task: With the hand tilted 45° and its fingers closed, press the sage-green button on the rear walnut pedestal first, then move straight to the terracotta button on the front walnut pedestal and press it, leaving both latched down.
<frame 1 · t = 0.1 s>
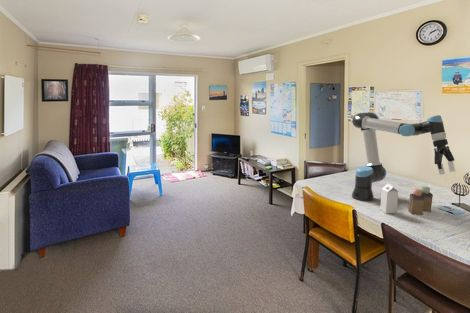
hand: (447, 172, 181), 28 cm above the table, tool tilted 20°, fingers open, 13 cm apart
front pedestal: (415, 212, 190), on the table
rear pedestal: (423, 209, 195), on the table
sage button: (425, 190, 192), point 14 cm above the table, slide at 0.0 cm
milk carton: (388, 211, 193), on the table
terracotta button: (417, 193, 188), point 14 cm above the table, slide at 0.0 cm
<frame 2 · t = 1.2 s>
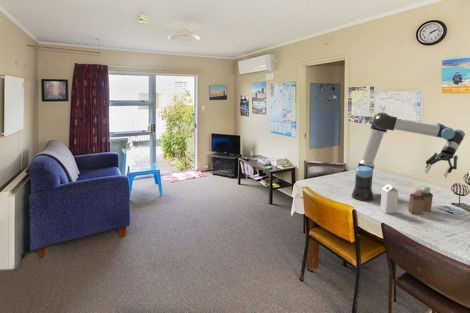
hand: (435, 174, 195), 23 cm above the table, tool tilted 45°, fingers open, 11 cm apart
nothing on the table moved.
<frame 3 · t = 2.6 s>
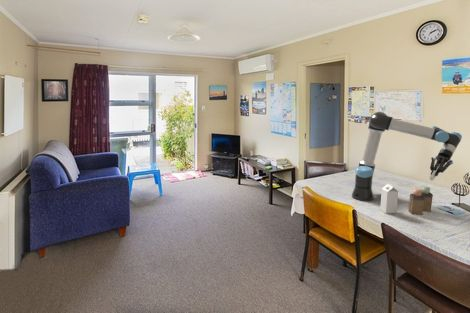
hand: (431, 179, 193), 21 cm above the table, tool tilted 45°, fingers closed
nothing on the table moved.
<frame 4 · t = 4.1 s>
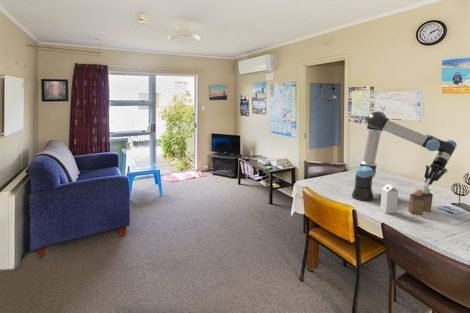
hand: (425, 187, 191), 16 cm above the table, tool tilted 45°, fingers closed
sage button: (425, 192, 193), point 13 cm above the table, slide at 1.0 cm, touching gripper
everything else where it was.
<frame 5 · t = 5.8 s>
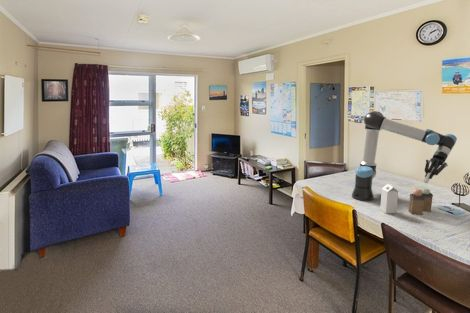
hand: (425, 181, 190), 20 cm above the table, tool tilted 45°, fingers closed
sage button: (425, 192, 193), point 12 cm above the table, slide at 1.5 cm
everything else where it was.
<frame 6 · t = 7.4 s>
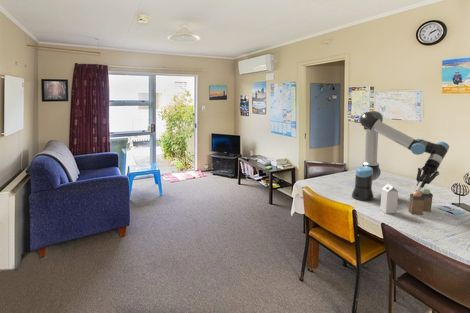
hand: (417, 190, 186), 15 cm above the table, tool tilted 45°, fingers closed
terracotta button: (417, 195, 188), point 12 cm above the table, slide at 1.4 cm, touching gripper
everything else where it was.
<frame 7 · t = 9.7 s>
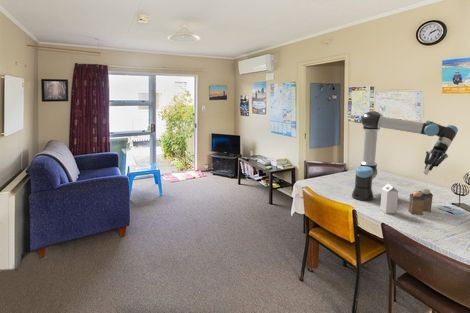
hand: (425, 173, 188), 26 cm above the table, tool tilted 45°, fingers closed
terracotta button: (417, 195, 188), point 12 cm above the table, slide at 1.5 cm
everything else where it was.
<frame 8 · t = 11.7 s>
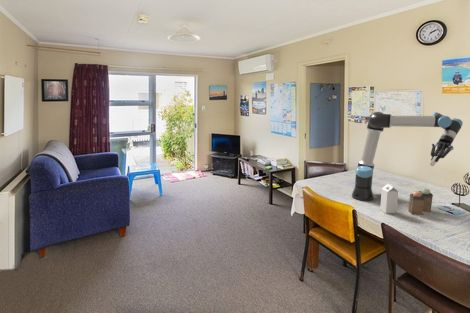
hand: (431, 164, 193), 30 cm above the table, tool tilted 45°, fingers closed
nothing on the table moved.
at the end: sage button slide at 1.5 cm; terracotta button slide at 1.5 cm; milk carton moved 0.2 cm from its start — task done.
